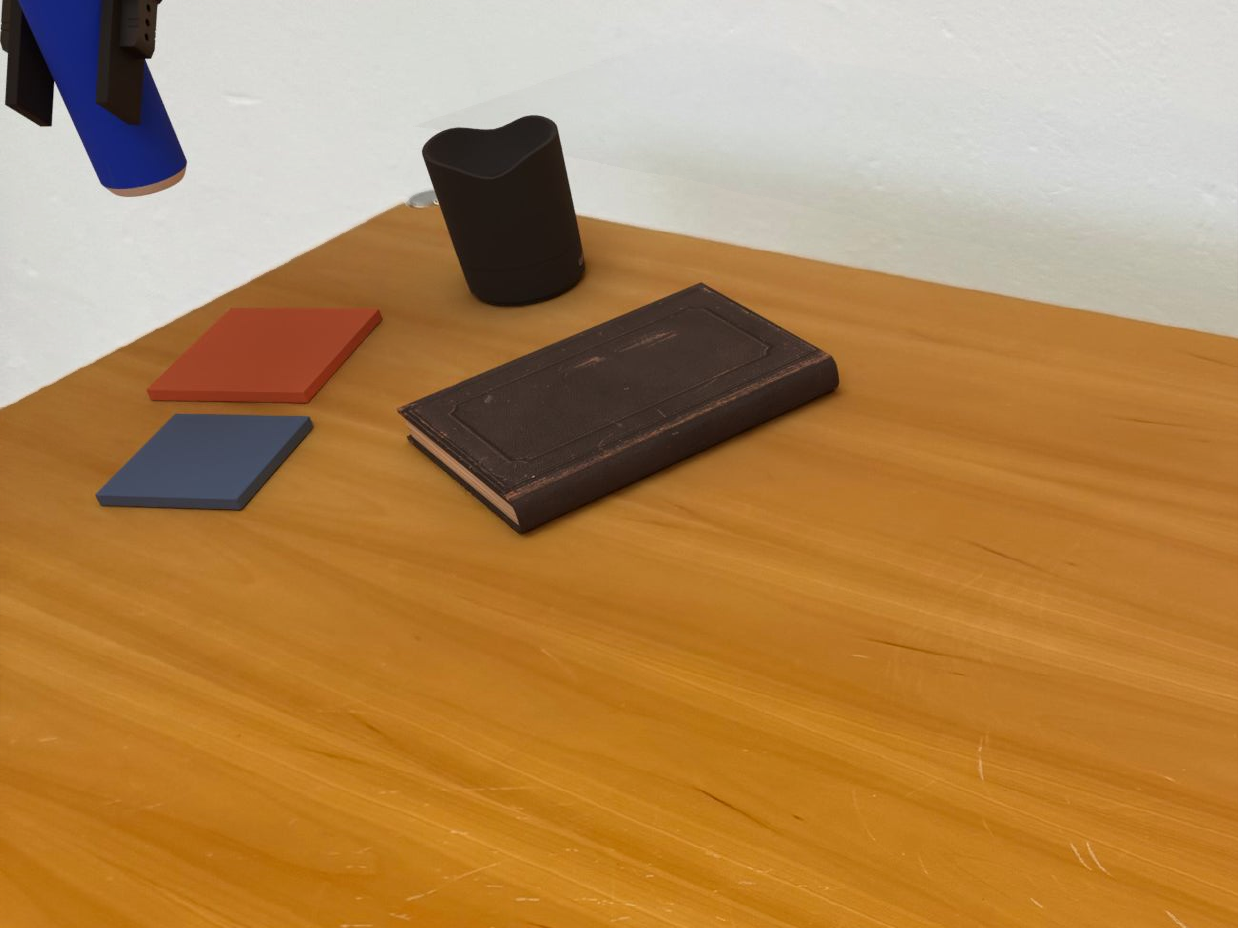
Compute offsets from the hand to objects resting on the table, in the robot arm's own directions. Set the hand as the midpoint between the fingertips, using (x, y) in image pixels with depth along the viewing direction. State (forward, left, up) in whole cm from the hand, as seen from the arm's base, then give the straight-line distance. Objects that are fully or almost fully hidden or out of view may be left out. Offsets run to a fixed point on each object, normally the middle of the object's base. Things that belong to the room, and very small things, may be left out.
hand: (73, 114), depth 92 cm
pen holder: (+13, +23, -21) cm, 33 cm away
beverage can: (0, +4, -5) cm, 7 cm away
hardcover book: (+27, +4, -20) cm, 34 cm away
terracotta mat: (-2, +11, -20) cm, 23 cm away
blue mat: (+1, -3, -20) cm, 21 cm away
